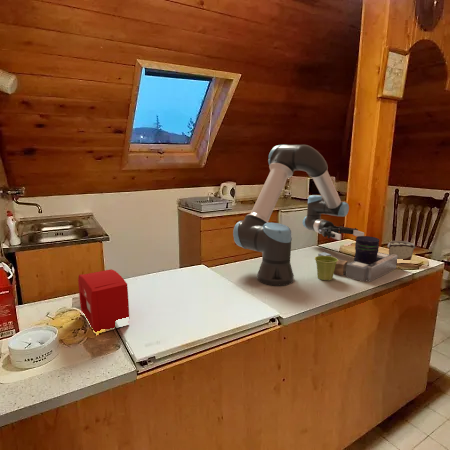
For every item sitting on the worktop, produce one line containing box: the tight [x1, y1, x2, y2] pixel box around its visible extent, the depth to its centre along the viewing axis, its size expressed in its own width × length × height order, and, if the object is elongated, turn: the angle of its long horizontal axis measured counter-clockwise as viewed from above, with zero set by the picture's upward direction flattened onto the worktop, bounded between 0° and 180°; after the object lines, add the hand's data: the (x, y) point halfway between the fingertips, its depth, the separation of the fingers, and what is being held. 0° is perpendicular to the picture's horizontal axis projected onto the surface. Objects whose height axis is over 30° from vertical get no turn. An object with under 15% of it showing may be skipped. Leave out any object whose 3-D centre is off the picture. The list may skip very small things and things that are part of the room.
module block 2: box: [377, 251, 390, 261], centre depth 161 cm, size 8×8×6 cm
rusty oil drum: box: [353, 235, 380, 265], centre depth 154 cm, size 10×10×15 cm
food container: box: [387, 240, 416, 261], centre depth 167 cm, size 12×6×10 cm, turn 84°
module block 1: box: [345, 260, 368, 282], centre depth 147 cm, size 8×7×6 cm
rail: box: [365, 254, 398, 283], centre depth 151 cm, size 2×25×6 cm, turn 131°
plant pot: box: [314, 255, 339, 281], centre depth 146 cm, size 9×9×9 cm
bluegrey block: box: [317, 251, 332, 257], centre depth 161 cm, size 4×4×6 cm
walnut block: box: [333, 259, 348, 276], centre depth 153 cm, size 5×6×5 cm
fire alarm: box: [77, 268, 130, 332], centre depth 108 cm, size 16×11×15 cm
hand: (352, 236), depth 162 cm, fingers open, 13 cm apart
